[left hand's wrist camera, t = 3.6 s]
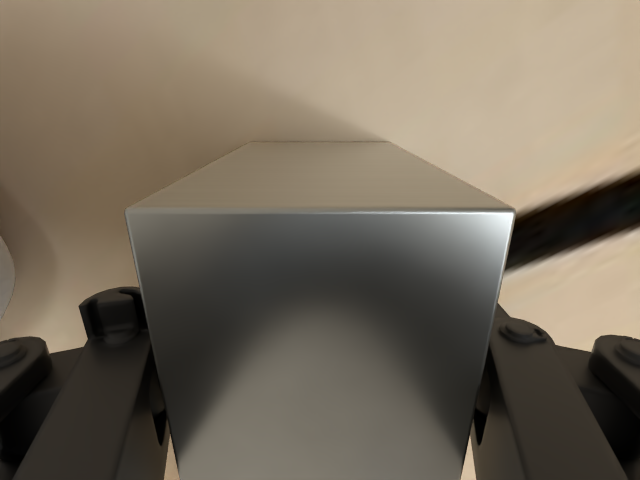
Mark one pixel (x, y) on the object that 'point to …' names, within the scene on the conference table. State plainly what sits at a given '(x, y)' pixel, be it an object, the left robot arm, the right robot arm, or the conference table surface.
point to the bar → (320, 311)
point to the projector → (6, 277)
